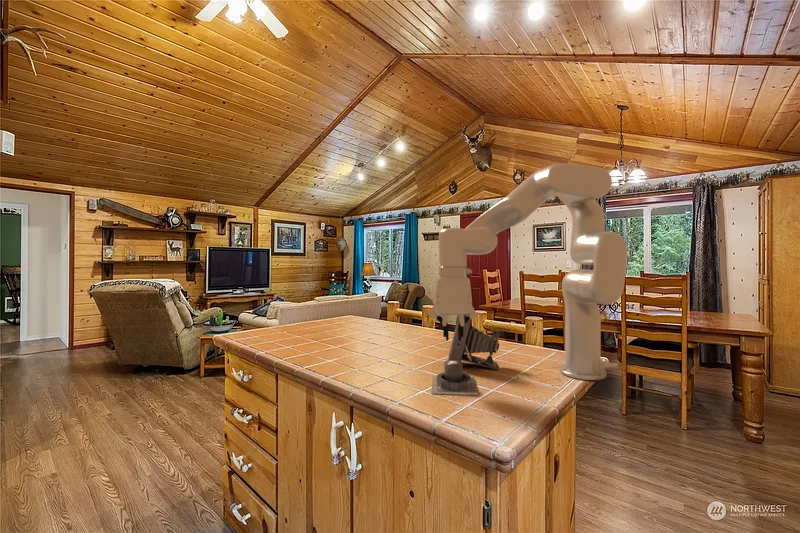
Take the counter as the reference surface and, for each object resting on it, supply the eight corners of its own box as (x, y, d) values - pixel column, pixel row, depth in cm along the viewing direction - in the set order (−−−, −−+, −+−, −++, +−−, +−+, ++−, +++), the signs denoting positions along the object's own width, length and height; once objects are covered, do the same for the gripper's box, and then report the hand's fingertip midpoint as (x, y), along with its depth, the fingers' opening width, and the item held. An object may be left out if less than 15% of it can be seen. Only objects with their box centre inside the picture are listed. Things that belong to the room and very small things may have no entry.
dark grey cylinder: (462, 381, 101) (462, 359, 101) (463, 387, 96) (463, 365, 96) (444, 380, 102) (444, 359, 102) (444, 387, 97) (444, 364, 97)
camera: (496, 383, 111) (513, 321, 110) (443, 366, 114) (459, 306, 113) (494, 372, 122) (509, 316, 121) (446, 357, 125) (460, 302, 124)
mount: (473, 379, 104) (473, 370, 104) (477, 395, 92) (477, 385, 92) (432, 378, 106) (432, 369, 106) (431, 393, 94) (431, 384, 94)
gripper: (481, 272, 101) (481, 337, 101) (424, 272, 103) (424, 336, 103) (484, 273, 93) (484, 343, 94) (422, 274, 95) (423, 342, 96)
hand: (453, 339), depth 99 cm, fingers open, 2 cm apart
